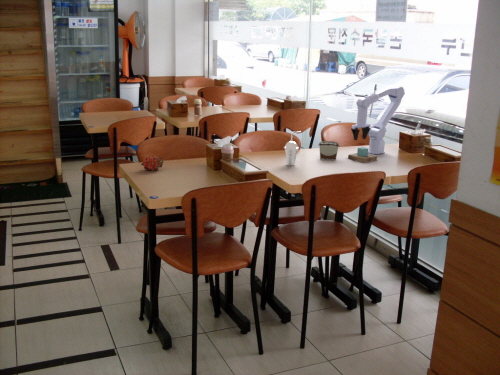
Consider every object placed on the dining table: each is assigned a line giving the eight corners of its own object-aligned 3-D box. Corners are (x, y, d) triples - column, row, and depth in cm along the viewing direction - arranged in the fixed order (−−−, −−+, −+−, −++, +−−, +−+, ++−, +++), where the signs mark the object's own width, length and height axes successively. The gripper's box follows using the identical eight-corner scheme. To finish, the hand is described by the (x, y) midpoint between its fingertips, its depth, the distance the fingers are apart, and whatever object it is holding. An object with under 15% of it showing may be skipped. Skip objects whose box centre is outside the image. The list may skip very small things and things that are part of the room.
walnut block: (361, 157, 332) (361, 152, 331) (376, 161, 322) (377, 156, 322) (347, 159, 325) (348, 154, 324) (363, 163, 315) (363, 158, 315)
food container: (337, 157, 326) (339, 141, 324) (338, 159, 321) (339, 143, 318) (317, 156, 328) (318, 140, 325) (317, 159, 322) (318, 142, 319)
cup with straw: (289, 162, 312) (291, 128, 306) (301, 165, 306) (303, 130, 300) (280, 164, 306) (281, 130, 300) (292, 168, 300) (293, 132, 294)
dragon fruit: (165, 172, 291) (143, 177, 288) (162, 160, 295) (140, 165, 293) (164, 162, 284) (142, 167, 281) (161, 150, 289) (138, 155, 286)
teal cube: (362, 154, 326) (362, 146, 324) (367, 155, 322) (368, 148, 321) (357, 155, 323) (357, 147, 322) (362, 156, 320) (363, 149, 318)
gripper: (365, 115, 336) (362, 137, 340) (348, 117, 328) (346, 139, 331) (373, 117, 331) (371, 139, 334) (357, 119, 322) (355, 141, 326)
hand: (359, 139), depth 333 cm, fingers open, 7 cm apart
